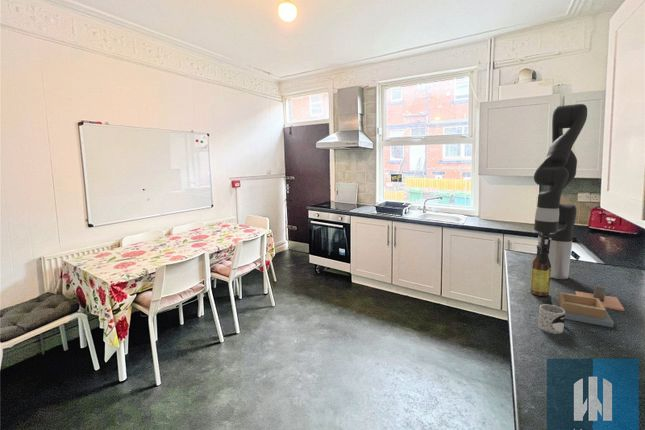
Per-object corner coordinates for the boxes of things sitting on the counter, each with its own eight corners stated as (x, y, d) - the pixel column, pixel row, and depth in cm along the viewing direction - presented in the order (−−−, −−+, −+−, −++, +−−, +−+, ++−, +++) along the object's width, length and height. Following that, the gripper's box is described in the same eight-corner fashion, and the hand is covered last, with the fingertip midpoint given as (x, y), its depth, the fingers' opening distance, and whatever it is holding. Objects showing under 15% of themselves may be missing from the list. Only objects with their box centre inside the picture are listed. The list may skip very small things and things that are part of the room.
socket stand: (551, 300, 124) (552, 289, 123) (601, 308, 116) (603, 297, 115) (555, 316, 111) (557, 304, 110) (613, 327, 103) (615, 314, 103)
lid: (575, 293, 131) (576, 279, 129) (616, 300, 124) (618, 285, 123) (579, 305, 121) (581, 289, 120) (624, 312, 114) (626, 296, 113)
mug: (555, 336, 99) (558, 315, 98) (533, 326, 105) (535, 307, 104) (573, 328, 104) (575, 308, 102) (550, 319, 109) (552, 300, 108)
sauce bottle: (551, 297, 126) (557, 248, 123) (533, 296, 127) (538, 247, 124) (544, 290, 132) (548, 243, 129) (527, 289, 134) (531, 243, 130)
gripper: (561, 223, 117) (556, 268, 120) (556, 216, 129) (551, 257, 132) (536, 221, 121) (532, 265, 124) (533, 215, 133) (530, 255, 136)
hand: (542, 261), depth 128 cm, fingers closed on sauce bottle, 5 cm apart
